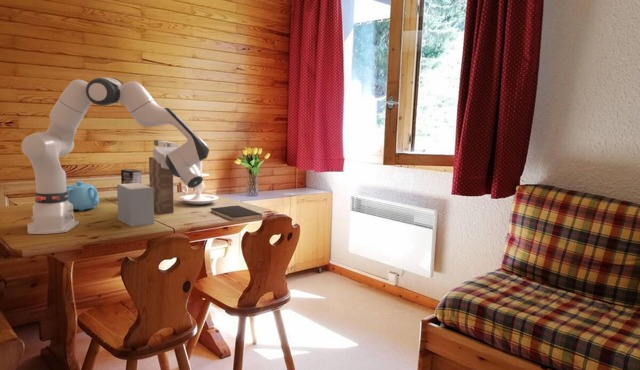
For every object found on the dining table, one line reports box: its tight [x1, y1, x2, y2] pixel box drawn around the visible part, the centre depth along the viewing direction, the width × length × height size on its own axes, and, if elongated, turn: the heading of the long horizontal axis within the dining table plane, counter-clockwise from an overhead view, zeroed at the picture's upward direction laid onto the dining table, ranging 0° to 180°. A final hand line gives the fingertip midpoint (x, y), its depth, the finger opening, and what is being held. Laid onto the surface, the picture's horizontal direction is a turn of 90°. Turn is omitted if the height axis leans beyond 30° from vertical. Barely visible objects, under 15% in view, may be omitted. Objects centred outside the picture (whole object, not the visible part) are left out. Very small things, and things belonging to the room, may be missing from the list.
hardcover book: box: [210, 204, 263, 222], centre depth 230 cm, size 16×23×2 cm
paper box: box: [116, 182, 155, 227], centre depth 207 cm, size 16×10×16 cm, turn 41°
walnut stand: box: [148, 156, 175, 215], centre depth 230 cm, size 14×6×26 cm, turn 41°
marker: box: [153, 139, 178, 147], centre depth 223 cm, size 20×3×3 cm, turn 41°
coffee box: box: [120, 168, 142, 184], centre depth 257 cm, size 9×6×16 cm
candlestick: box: [178, 160, 220, 205], centre depth 253 cm, size 21×25×28 cm
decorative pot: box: [66, 180, 100, 212], centre depth 229 cm, size 16×16×14 cm
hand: (170, 143), depth 218 cm, fingers closed on marker, 3 cm apart
